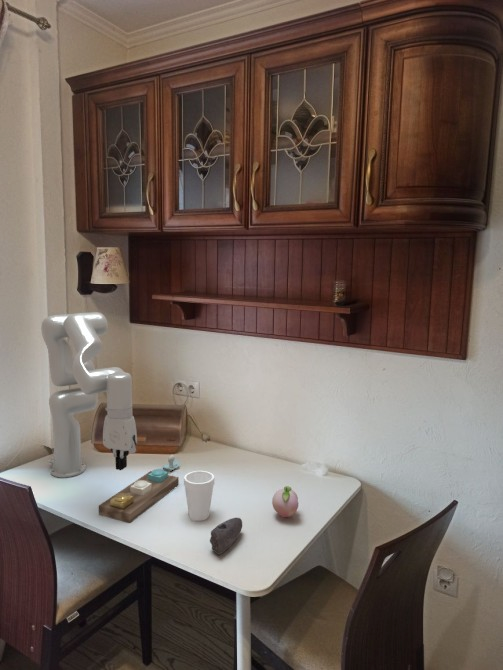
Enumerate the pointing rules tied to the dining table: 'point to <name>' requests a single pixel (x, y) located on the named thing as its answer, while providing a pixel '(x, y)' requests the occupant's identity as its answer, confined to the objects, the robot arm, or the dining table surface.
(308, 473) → the dining table surface
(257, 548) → the dining table surface
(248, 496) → the dining table surface
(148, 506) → the button panel
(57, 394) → the robot arm
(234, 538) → the perforated stone tool
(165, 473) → the teal button
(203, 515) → the foam cup
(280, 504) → the decorative fruit
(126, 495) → the brass button
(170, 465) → the pacifier
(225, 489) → the dining table surface
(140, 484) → the cream button
